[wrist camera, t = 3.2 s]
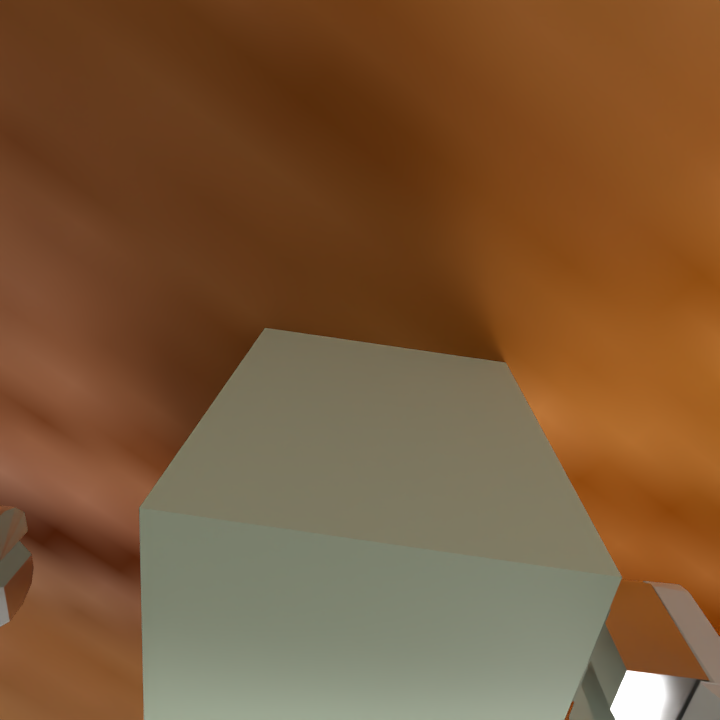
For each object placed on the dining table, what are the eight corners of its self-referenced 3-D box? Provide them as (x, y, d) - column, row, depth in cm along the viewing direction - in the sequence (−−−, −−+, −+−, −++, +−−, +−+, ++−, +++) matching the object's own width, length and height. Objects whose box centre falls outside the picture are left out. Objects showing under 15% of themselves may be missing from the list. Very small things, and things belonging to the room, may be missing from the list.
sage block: (457, 553, 13) (507, 858, 7) (250, 523, 13) (146, 806, 7) (505, 362, 11) (622, 577, 6) (265, 327, 11) (138, 508, 6)
